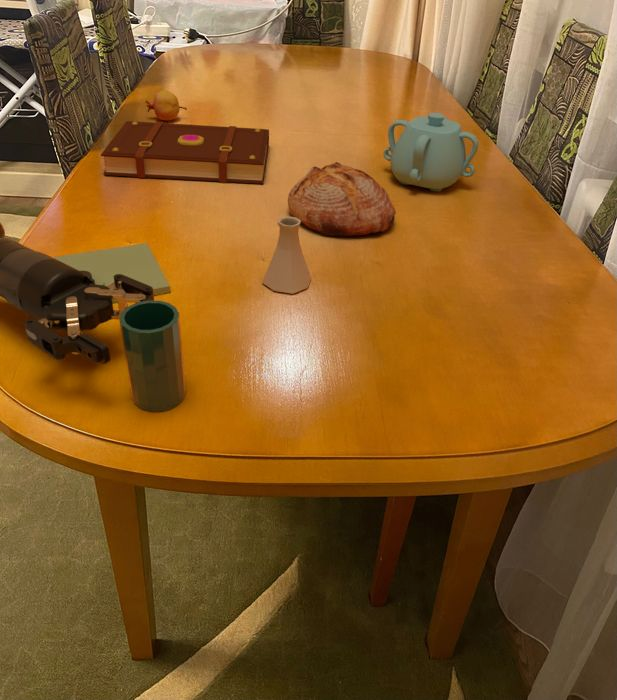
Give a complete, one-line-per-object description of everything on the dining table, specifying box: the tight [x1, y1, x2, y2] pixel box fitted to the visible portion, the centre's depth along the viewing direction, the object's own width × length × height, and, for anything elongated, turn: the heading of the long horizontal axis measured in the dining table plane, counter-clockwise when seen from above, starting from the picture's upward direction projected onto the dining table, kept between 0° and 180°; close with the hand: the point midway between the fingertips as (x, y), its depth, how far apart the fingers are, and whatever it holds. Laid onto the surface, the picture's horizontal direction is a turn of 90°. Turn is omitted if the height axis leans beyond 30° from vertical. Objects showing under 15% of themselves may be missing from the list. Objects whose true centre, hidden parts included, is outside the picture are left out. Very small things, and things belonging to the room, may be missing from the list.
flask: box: [261, 215, 312, 295], centre depth 89 cm, size 7×7×10 cm
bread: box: [287, 161, 396, 237], centre depth 108 cm, size 16×20×10 cm
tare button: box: [81, 271, 93, 282], centre depth 83 cm, size 3×3×2 cm
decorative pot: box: [383, 112, 479, 192], centre depth 124 cm, size 16×16×14 cm
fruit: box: [144, 89, 188, 122], centre depth 148 cm, size 7×7×10 cm
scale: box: [53, 242, 172, 304], centre depth 89 cm, size 14×14×2 cm
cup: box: [118, 299, 186, 413], centre depth 67 cm, size 6×6×11 cm
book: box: [100, 120, 270, 184], centre depth 127 cm, size 23×32×5 cm
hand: (137, 337), depth 67 cm, fingers open, 8 cm apart
